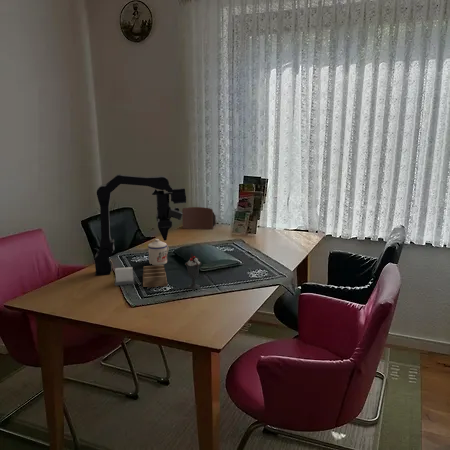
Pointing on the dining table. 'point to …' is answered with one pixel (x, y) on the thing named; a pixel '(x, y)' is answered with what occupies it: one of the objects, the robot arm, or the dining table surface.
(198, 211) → the letter holder
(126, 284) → the rails
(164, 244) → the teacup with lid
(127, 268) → the upright white panel
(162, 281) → the rack
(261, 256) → the dining table surface
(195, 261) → the sundae
